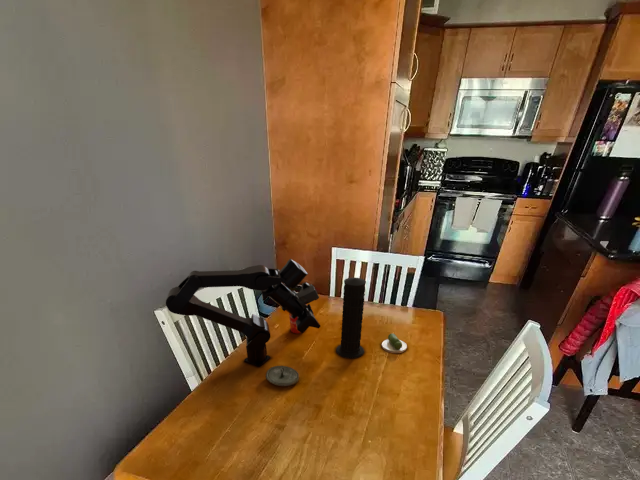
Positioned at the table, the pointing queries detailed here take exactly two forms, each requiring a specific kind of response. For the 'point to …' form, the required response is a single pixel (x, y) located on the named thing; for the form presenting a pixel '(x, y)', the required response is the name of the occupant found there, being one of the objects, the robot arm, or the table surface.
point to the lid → (282, 376)
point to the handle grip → (352, 318)
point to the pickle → (394, 344)
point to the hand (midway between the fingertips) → (319, 326)
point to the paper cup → (293, 324)
